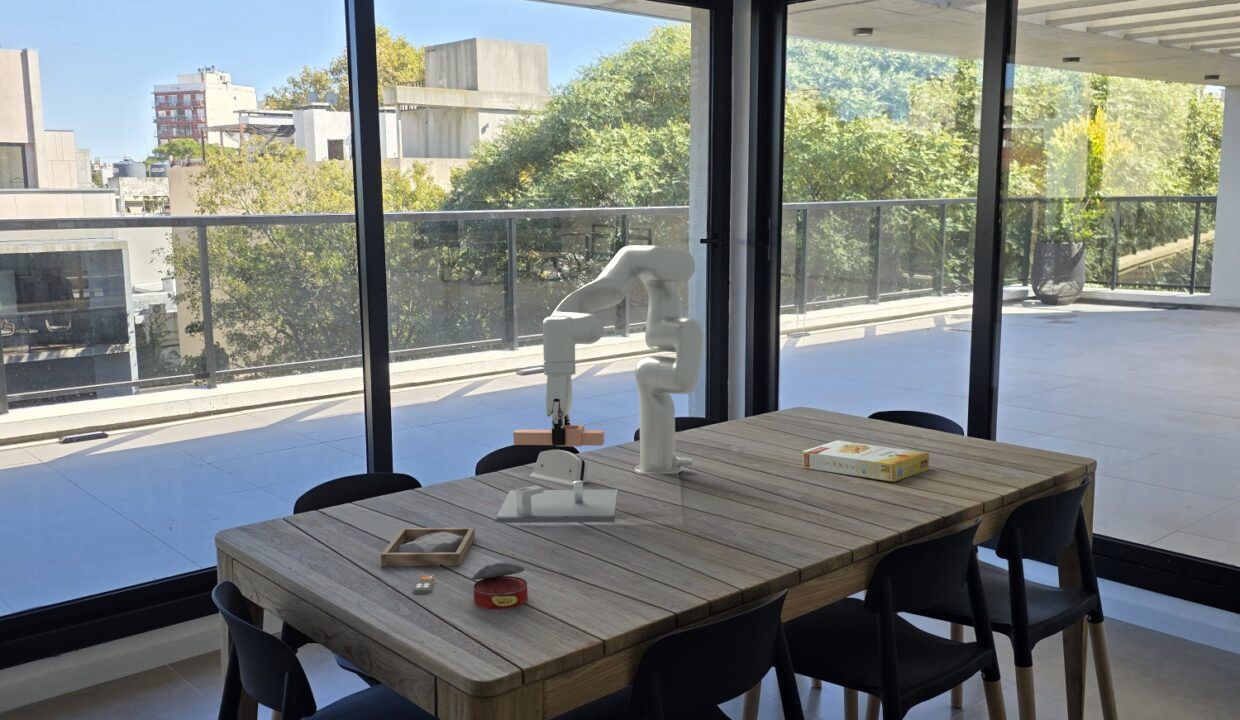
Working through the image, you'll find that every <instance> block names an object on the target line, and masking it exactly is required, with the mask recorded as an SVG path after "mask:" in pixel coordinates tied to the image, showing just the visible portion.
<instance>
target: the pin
mask: <svg viewBox="0 0 1240 720" xmlns="http://www.w3.org/2000/svg"><path fill="white" fill-rule="evenodd" d="M573 490H574V502H575V503H582V502H583V490H584V483H583V481H581V480H576V481H574V486H573Z"/></svg>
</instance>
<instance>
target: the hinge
mask: <svg viewBox="0 0 1240 720" xmlns="http://www.w3.org/2000/svg"><path fill="white" fill-rule="evenodd" d="M538 453H539V454H538V456H537V460H536V462H535V465H534V468H533V470H532V471H533V472H532V473H531V474H530V475H529V477H531V478H535V479H539V480H544V481H548V482H553V483H557V484H562V485H566V486H571V487H574V481H576V480H581V481H583V484H584V483H586V481H587V472H588V463H589V462H588V461H587V460H585V458H582V456H579V455H578V454H576V453H573V452H571V451H567V450H562V449H561V450H560V449H549V450H547V449H546V450H544V451H540V452H538Z"/></svg>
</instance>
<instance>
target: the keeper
mask: <svg viewBox="0 0 1240 720" xmlns="http://www.w3.org/2000/svg"><path fill="white" fill-rule="evenodd" d="M515 490H516V497H517V514H519V515H522V516H521V517H525V516H524V515H529V514H531V495H535V494H540V493H544V492H543V490H544V487H543V486H539V485H537V484H534V485H530V486H526V487H520V488H516V489H515Z"/></svg>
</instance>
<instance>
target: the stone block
mask: <svg viewBox="0 0 1240 720" xmlns="http://www.w3.org/2000/svg"><path fill="white" fill-rule="evenodd" d="M462 541H463V537H462V536H458V535H455V534H452V533H447V532H439V533H431V534H427V535H425V536H422V537H419V538H417V539H416V540H414V541H410V542H406V543H404V544H402V545H400V549H399V550H398V553H436V552H456V551H457V549H458V547H459V546H460V544H461V542H462Z"/></svg>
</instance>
